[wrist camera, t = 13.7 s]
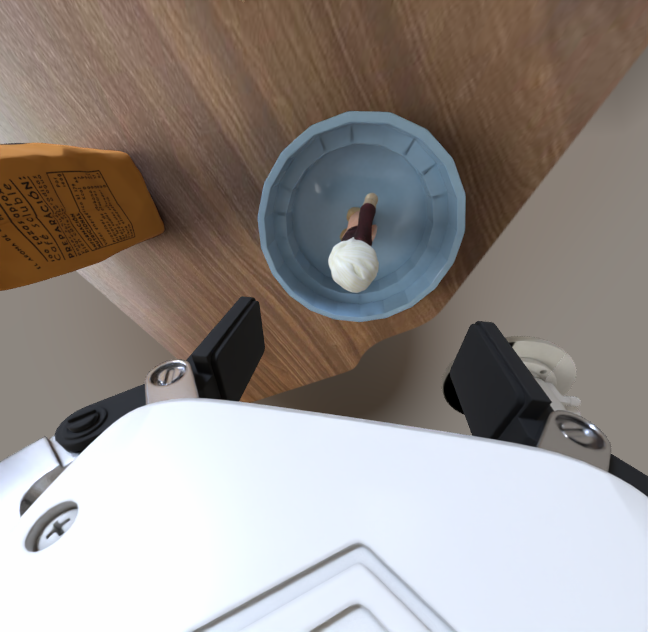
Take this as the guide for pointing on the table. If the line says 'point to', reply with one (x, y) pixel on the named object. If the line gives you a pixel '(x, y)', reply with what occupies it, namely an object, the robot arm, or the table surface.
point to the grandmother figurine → (356, 249)
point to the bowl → (350, 191)
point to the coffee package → (68, 210)
